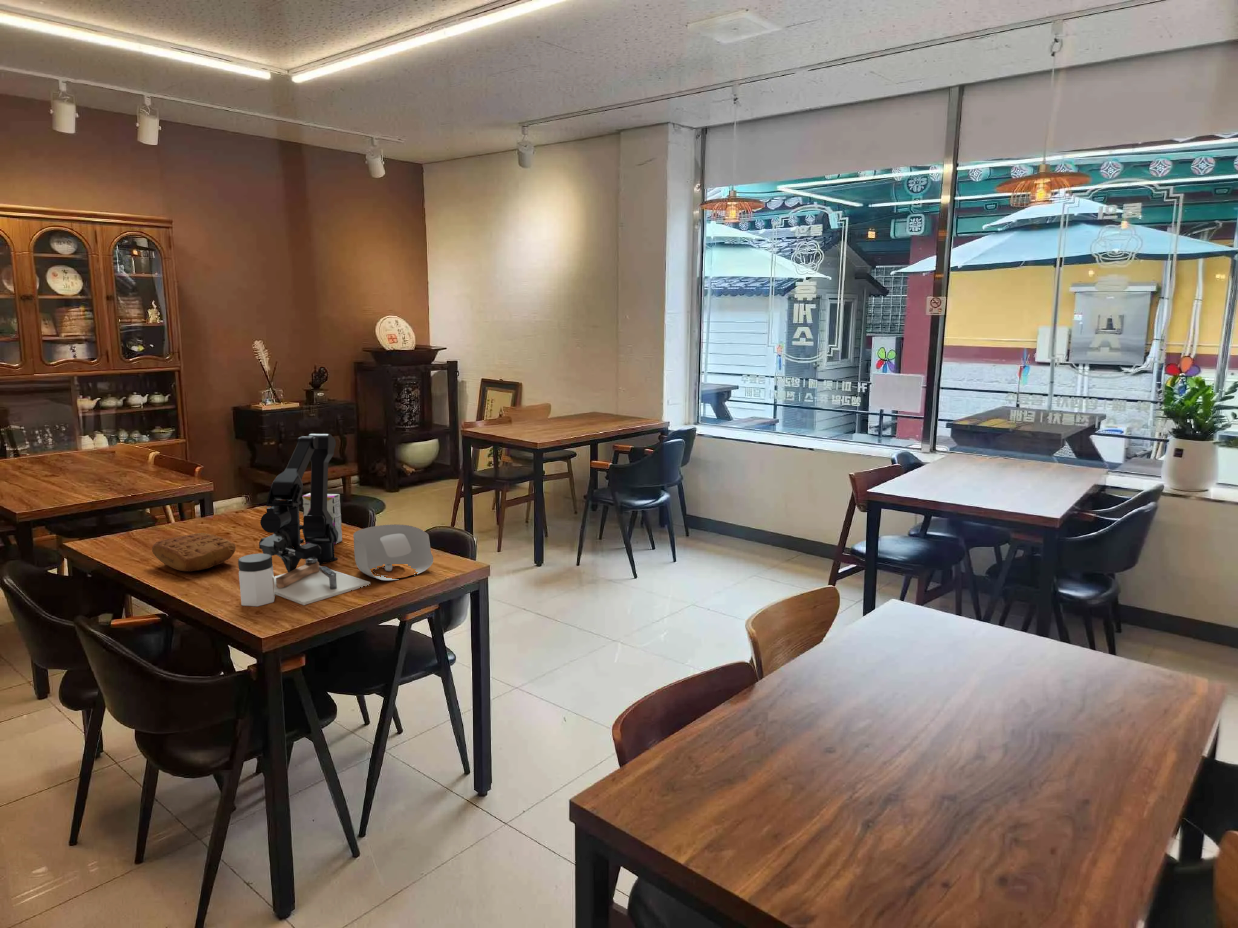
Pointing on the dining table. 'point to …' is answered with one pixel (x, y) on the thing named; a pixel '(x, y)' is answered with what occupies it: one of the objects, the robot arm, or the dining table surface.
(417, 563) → the gray curved shell
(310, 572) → the link
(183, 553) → the inscribed clay slab
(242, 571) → the jar
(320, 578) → the hinge board
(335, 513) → the candy bar box
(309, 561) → the keeper
